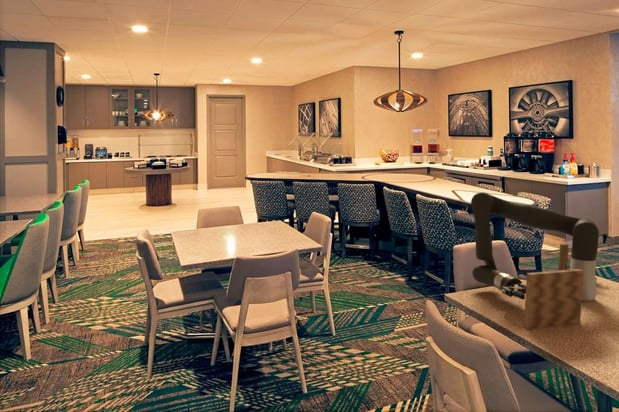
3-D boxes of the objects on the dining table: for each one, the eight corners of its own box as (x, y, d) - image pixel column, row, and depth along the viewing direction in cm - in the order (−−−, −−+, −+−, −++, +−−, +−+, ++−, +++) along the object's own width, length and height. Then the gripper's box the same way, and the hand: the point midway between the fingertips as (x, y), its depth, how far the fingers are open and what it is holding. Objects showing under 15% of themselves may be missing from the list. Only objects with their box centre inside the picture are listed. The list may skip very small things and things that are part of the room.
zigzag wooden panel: (566, 316, 188) (569, 265, 185) (580, 323, 181) (583, 270, 179) (515, 322, 183) (517, 269, 180) (527, 329, 176) (530, 274, 174)
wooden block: (582, 285, 226) (585, 246, 224) (556, 281, 232) (559, 244, 229) (583, 283, 229) (586, 245, 227) (557, 280, 235) (560, 242, 232)
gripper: (492, 276, 203) (518, 288, 187) (523, 273, 206) (550, 285, 190) (491, 294, 204) (516, 307, 188) (522, 291, 207) (549, 304, 191)
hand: (533, 296), depth 189 cm, fingers open, 8 cm apart
